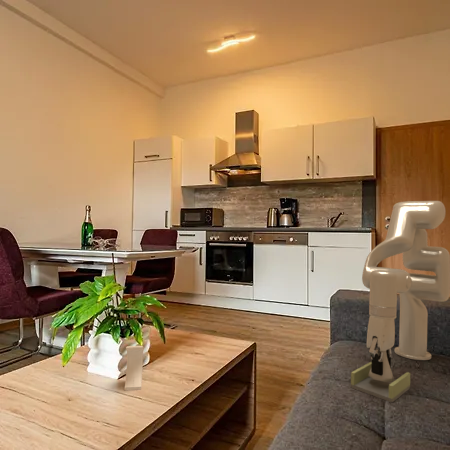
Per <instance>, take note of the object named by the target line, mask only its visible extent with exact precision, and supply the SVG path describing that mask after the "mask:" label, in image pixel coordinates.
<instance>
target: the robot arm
mask: <svg viewBox="0 0 450 450" xmlns="http://www.w3.org/2000/svg"><path fill="white" fill-rule="evenodd" d="M445 218H446V207H445V205H444V203H443V202H442V201H440V200H413V201H412V200H409V201H408V200H407V201H399V202H397V203H395V204H394V205H393V207H392V212H391V216H390V218H389V219H390V220H389V223H388V229H387V232H386V236H385V238H384V240H383V241H382V242H380V243H378V244H377V245H376V246H375V247H374V248H373V249H371V251H370V252H369V254H368V255H367V256H366V258H365V262H364V266H363V270H362V278H361V281H362V285H363V286H364V287H365V288H367V289H369V300H368V302H369V304H368V306H369V308H368V310H369V311H368V312H369V313H368V315H369V318H368V324H367V334H366V348H367V349H369V350H368V351H369V352H368V353H369V355H370V360H371V362H372V363H371V372H372V373H374V374H377V375H380V376H382V375H383V362H382V356H383V352H384V351H386V353H387V359H388V362H389V365H390V368H391V369H392V355H393V354H392V351H393V350H392V349H393V347H394V345H395V342H396V341H395V340H396V338H395V337H396V336H395V335H396V332H395V331H396V326H395V320H396V319H397V309H398V308H397V304H398V303H397V301H398V300H397V299H398V297H397V296H399V330H398V332H399V333H398V336H399V337H398V343H399V344H398V346H396V347H394V353H395V355H398V356H400V357H402V358H406V359H411V360H415V361H429V360H431V359H432V354H431V353H430V352H429V351H428V349H427V348H428V314H429V313H428V309H427V306H426V305H425V303H424V302H423V301H422V300H424V301H425V300H426V301H432V302H446V301H448V300H449V298H450V252H449V250H448V249H446V248H445V247H442V246H431V245H428V232H427V230H433V229H437V228H438V227H439V226H440V225H441V224H442V223H443V222H444V220H445ZM399 254H402V265H403V267H405V268H406V269H407V270H410V271H411V270H412V271H419V272H420V271H421V272H432V273H434V275H433V274H424V273H414V272H408V271H407V270H405V269H400V268H391V267H381V266H378V264H380V263H381V262H383V260H386V259H388V258H390V257H393V256H397V255H399ZM377 348H380V350H377ZM376 352H379V355H378V354H377V353H376Z"/></svg>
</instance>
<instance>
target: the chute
mask: <svg viewBox="0 0 450 450" xmlns="http://www.w3.org/2000/svg"><path fill="white" fill-rule="evenodd" d="M371 363H372V361H370V362H367V363H366V364H364V365H362V366H361V367H358V368H357V369H355V370H353V371H351V372H350V388H351V389H353V390H355V391H356V390H357V391H360V392H362V393H364V394H368V395H371V396H374V397H376V398H379V399H381V400H384V401H386V402H389V403H393V402H395V401H396V400H397V399H398V398H400V397H401V396H403V395H404V394H405V393H406V392H408V391H409V390H410V389H411V372H409V371H406V372H405V373H404V374H402V375H401V376H399V377H397V379H393V381H379V380H375V379H372V378H371V377H370V376H369V375H368V374H369V372H370V369H371Z"/></svg>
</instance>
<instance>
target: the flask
mask: <svg viewBox="0 0 450 450" xmlns="http://www.w3.org/2000/svg"><path fill="white" fill-rule="evenodd" d="M376 350H380V348H376ZM376 353H377V354H378V355H379V352H376ZM382 362H383V375H382V376H380V375H377V374H374V373H372V372H371V369H370V372H369V374H368V375H369V376H370V377H371V378H372V379H375V380H379V381H393V379H394V375H393V372H392V367H391V368H390V365H389V362H388V359H387V353H386V351H384V352H383V356H382ZM394 380H395V379H394Z"/></svg>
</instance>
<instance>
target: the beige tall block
mask: <svg viewBox="0 0 450 450" xmlns="http://www.w3.org/2000/svg"><path fill="white" fill-rule="evenodd" d="M125 351H126V369H125V370H126V372H125V373H126V374H125V381H124V383H125V384H124V391H137V390H138V391H141V390H142V384H143V367H144V366H143V364H144V363H143V362H144V361H143V360H144V346H143V345H134V346H133V345H131V346H129V345H128V346H126V348H125Z"/></svg>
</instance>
